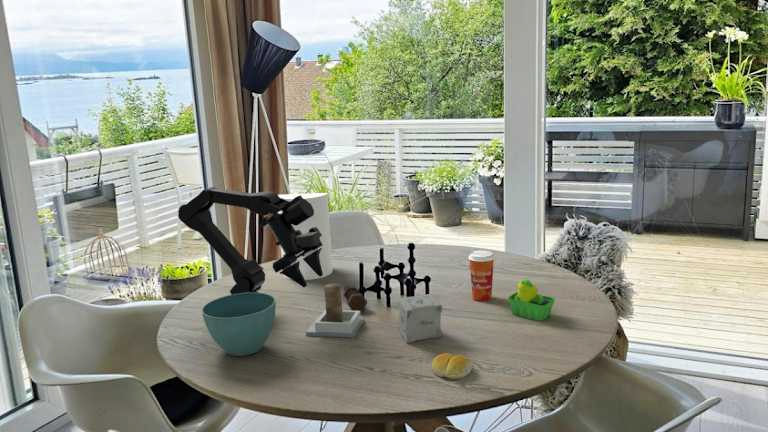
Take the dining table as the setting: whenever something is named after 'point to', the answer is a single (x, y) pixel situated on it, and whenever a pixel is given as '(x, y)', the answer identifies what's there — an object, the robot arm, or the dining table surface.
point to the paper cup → (481, 275)
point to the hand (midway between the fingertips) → (313, 281)
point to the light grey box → (419, 317)
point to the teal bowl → (240, 321)
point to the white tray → (336, 325)
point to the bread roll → (451, 366)
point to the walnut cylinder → (333, 303)
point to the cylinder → (322, 224)
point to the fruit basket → (530, 302)
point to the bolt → (354, 298)
